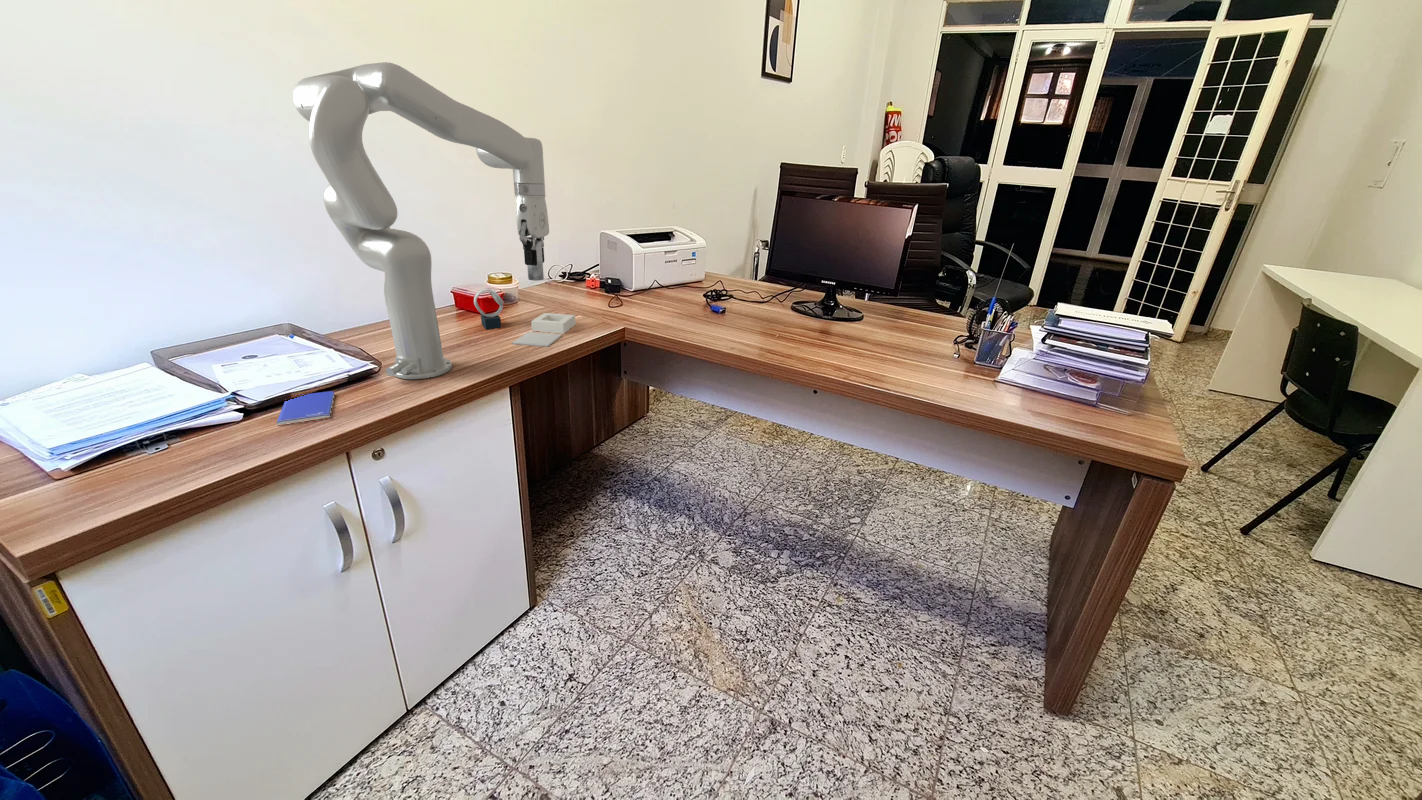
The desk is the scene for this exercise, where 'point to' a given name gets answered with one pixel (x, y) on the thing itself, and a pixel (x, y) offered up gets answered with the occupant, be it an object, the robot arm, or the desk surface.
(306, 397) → the blue book
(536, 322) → the grey square socket block
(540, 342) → the mat
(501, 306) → the grey ring on block
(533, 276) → the peg
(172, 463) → the desk surface
